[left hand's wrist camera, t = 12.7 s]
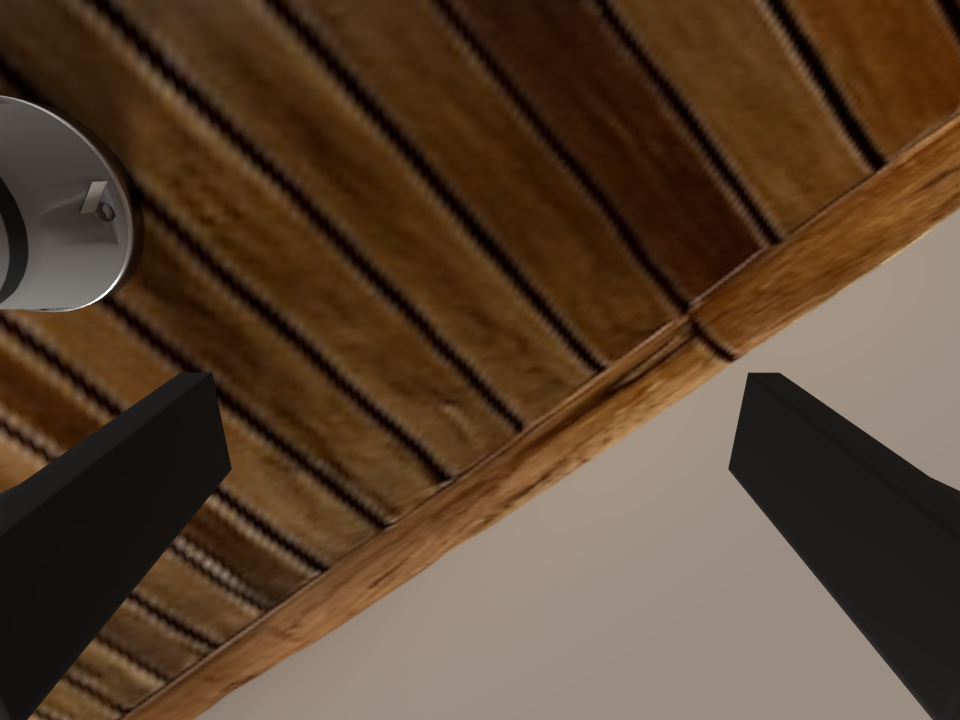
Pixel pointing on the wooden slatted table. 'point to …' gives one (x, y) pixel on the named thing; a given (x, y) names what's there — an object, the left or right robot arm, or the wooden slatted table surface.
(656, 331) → the wooden slatted table surface
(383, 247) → the wooden slatted table surface
